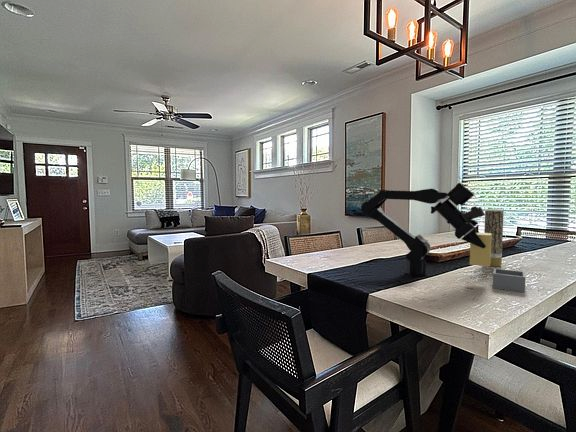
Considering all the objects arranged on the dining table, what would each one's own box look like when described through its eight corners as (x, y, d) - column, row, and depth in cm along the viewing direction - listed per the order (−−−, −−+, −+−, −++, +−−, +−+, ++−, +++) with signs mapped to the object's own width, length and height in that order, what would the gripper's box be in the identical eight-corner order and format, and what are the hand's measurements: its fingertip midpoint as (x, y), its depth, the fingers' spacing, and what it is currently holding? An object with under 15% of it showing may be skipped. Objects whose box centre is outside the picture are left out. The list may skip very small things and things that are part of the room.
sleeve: (492, 287, 106) (493, 273, 106) (493, 281, 113) (494, 268, 113) (524, 292, 101) (525, 277, 101) (524, 285, 108) (524, 271, 108)
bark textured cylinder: (505, 267, 136) (507, 209, 134) (489, 267, 136) (491, 210, 134) (494, 263, 142) (496, 209, 141) (480, 263, 142) (481, 209, 141)
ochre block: (469, 264, 111) (470, 234, 110) (471, 261, 116) (472, 232, 115) (489, 266, 108) (490, 235, 107) (490, 263, 113) (491, 233, 112)
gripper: (466, 199, 105) (505, 234, 99) (472, 198, 120) (506, 228, 114) (440, 221, 110) (475, 256, 104) (449, 218, 125) (480, 247, 120)
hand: (485, 246), depth 111 cm, fingers closed on ochre block, 6 cm apart
